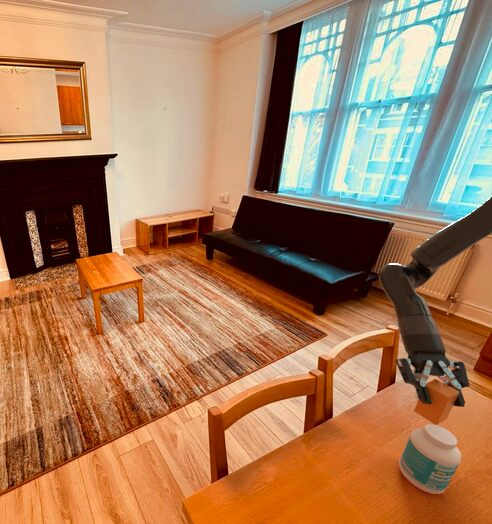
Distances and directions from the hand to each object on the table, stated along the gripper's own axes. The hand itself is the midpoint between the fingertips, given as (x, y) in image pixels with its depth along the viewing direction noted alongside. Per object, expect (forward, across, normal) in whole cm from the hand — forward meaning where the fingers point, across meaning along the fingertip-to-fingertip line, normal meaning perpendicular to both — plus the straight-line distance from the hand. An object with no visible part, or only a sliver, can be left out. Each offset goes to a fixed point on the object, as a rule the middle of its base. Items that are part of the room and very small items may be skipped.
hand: (443, 405), depth 66 cm
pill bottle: (+15, -10, -1) cm, 18 cm away
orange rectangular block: (+3, 0, +5) cm, 6 cm away
